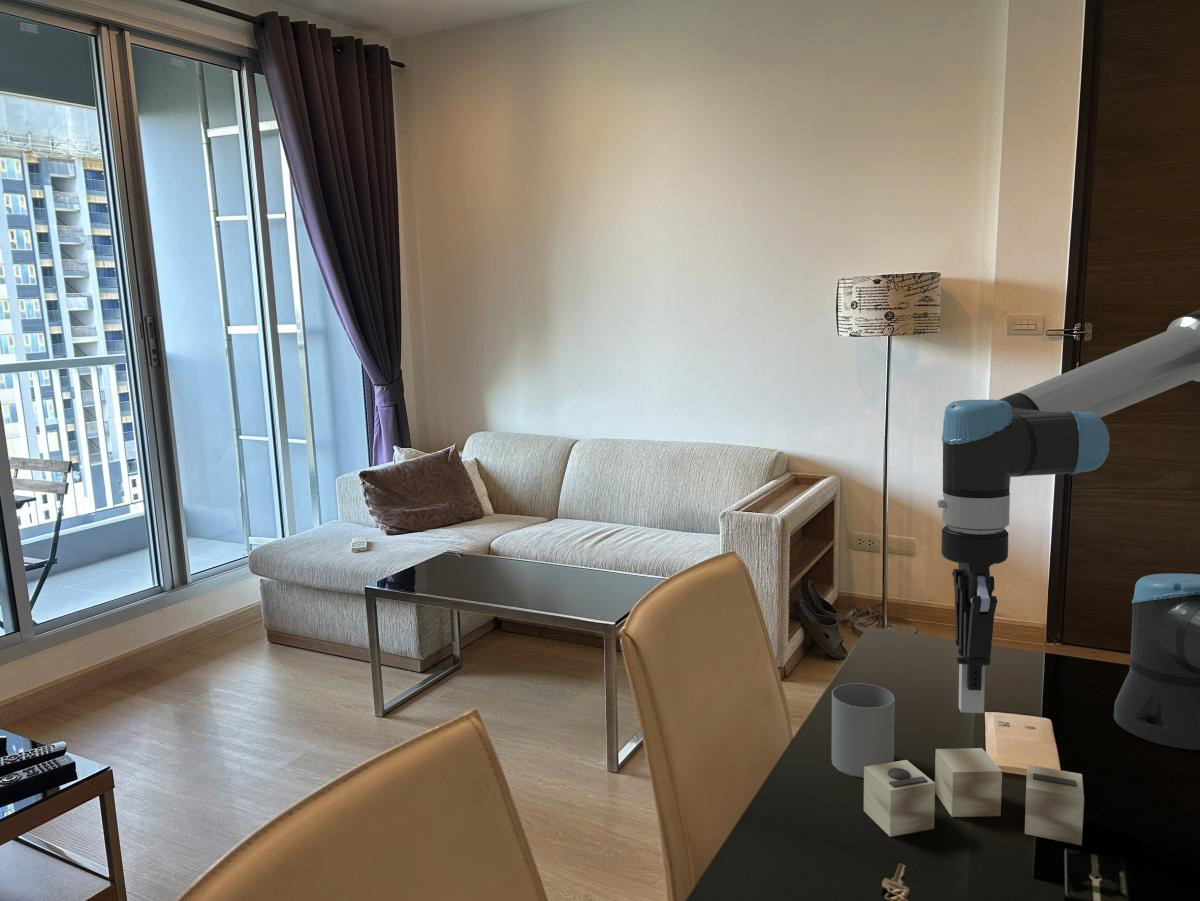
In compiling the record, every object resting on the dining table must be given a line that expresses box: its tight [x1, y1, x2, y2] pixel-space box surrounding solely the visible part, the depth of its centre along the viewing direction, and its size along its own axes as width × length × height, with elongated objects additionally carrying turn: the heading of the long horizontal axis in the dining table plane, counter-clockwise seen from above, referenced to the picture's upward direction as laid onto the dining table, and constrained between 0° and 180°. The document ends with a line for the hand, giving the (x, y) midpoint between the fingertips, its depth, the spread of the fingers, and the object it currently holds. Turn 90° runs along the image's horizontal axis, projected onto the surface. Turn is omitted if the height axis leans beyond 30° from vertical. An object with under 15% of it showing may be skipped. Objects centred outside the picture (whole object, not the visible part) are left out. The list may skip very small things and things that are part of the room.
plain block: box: [934, 747, 1003, 818], centre depth 112 cm, size 6×6×6 cm
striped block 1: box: [863, 759, 936, 838], centre depth 109 cm, size 6×6×6 cm
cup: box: [831, 682, 896, 779], centre depth 123 cm, size 8×8×10 cm
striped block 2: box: [1024, 764, 1085, 846], centre depth 106 cm, size 6×6×6 cm
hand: (971, 710), depth 111 cm, fingers closed
